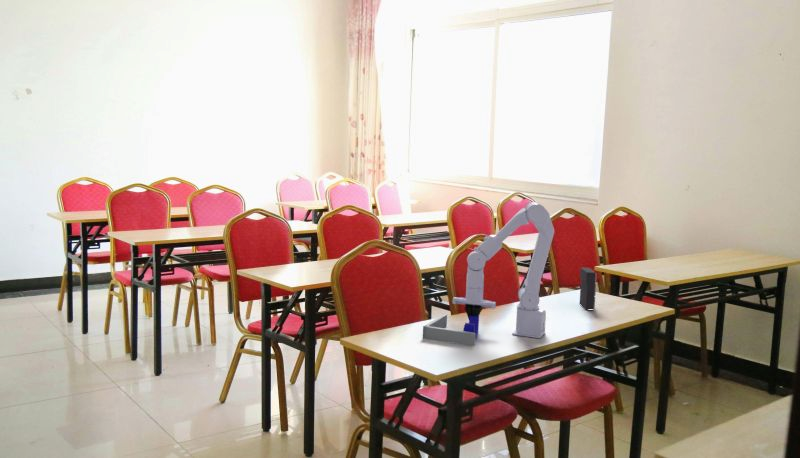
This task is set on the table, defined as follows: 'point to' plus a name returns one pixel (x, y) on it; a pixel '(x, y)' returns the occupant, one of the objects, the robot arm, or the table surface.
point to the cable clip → (472, 325)
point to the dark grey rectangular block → (587, 288)
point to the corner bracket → (447, 333)
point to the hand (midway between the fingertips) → (472, 326)
